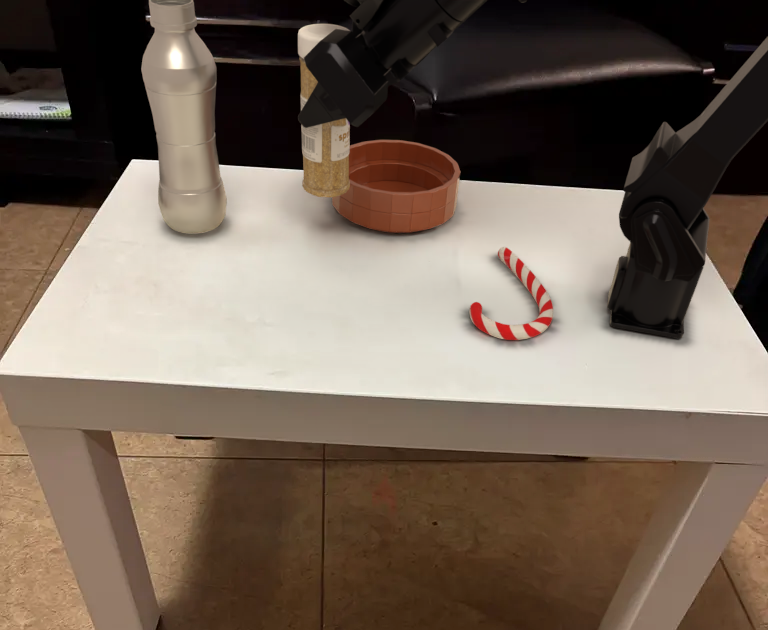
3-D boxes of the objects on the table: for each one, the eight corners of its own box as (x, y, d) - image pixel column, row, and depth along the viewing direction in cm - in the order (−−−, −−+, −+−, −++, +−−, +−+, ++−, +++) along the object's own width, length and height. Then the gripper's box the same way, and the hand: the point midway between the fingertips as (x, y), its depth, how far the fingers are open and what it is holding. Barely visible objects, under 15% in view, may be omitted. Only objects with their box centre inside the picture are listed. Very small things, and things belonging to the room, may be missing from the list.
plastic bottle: (148, 224, 83) (113, -3, 68) (202, 204, 86) (179, -16, 72) (188, 249, 80) (161, 17, 65) (242, 227, 83) (227, 2, 69)
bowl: (463, 191, 92) (469, 150, 89) (442, 246, 83) (447, 203, 80) (349, 172, 94) (351, 132, 90) (316, 225, 85) (316, 182, 81)
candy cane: (537, 246, 82) (563, 331, 71) (534, 258, 83) (560, 344, 72) (459, 242, 81) (474, 328, 71) (457, 255, 82) (472, 341, 72)
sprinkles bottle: (355, 197, 77) (358, 37, 67) (307, 201, 76) (303, 39, 66) (343, 176, 80) (345, 20, 70) (297, 179, 79) (292, 22, 69)
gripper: (412, -131, 67) (290, 5, 77) (330, -90, 54) (197, 66, 64) (493, -6, 71) (368, 107, 81) (434, 59, 58) (294, 184, 68)
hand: (311, 113), depth 73 cm, fingers closed on sprinkles bottle, 4 cm apart
